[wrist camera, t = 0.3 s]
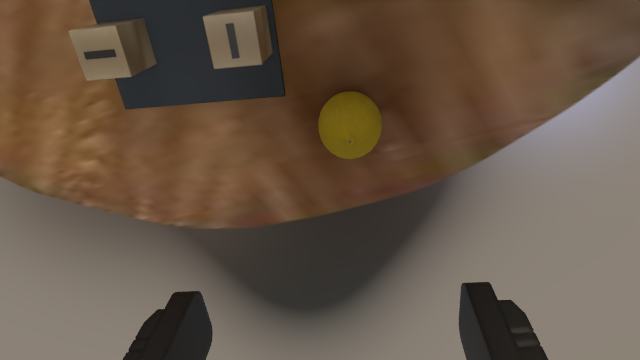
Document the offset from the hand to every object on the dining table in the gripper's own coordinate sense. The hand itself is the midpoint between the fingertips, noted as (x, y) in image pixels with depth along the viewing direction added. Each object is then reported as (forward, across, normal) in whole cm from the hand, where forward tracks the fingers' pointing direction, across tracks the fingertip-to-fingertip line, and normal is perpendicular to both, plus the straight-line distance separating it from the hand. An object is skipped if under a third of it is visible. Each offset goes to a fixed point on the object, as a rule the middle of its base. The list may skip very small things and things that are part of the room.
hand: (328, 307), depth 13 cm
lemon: (+29, 0, +3) cm, 29 cm away
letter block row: (+28, +14, -5) cm, 32 cm away
